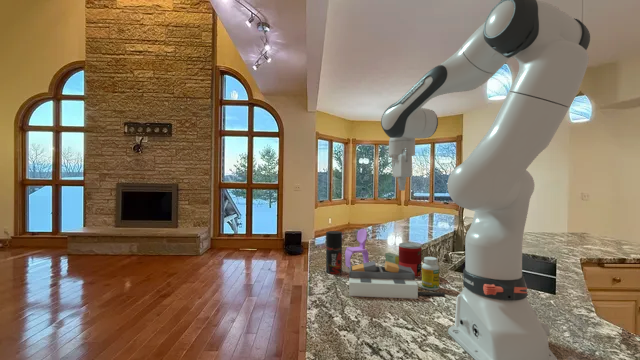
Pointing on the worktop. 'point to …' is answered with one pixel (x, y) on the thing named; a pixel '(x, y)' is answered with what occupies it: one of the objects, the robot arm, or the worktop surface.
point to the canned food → (410, 257)
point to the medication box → (392, 258)
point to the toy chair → (358, 248)
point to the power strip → (385, 284)
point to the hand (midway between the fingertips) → (401, 190)
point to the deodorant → (333, 252)
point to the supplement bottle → (430, 274)
